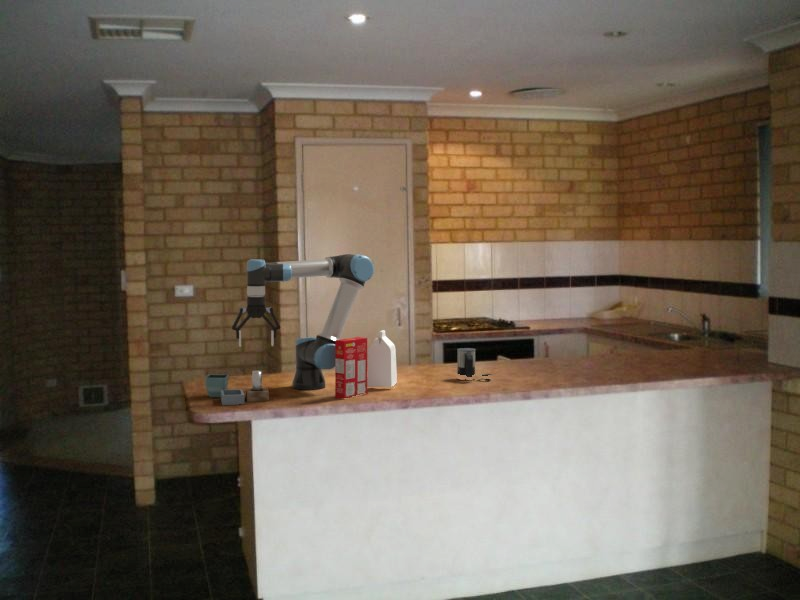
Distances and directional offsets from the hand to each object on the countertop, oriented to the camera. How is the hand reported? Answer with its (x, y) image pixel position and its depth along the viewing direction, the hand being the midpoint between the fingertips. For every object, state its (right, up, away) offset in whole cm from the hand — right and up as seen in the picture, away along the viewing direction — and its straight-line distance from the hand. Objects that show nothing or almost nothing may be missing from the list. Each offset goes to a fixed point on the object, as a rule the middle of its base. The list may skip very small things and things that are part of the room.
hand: (256, 346), depth 359 cm
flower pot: (-18, -22, +7) cm, 30 cm away
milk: (+53, -21, +32) cm, 65 cm away
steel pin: (0, -23, +2) cm, 23 cm away
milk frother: (+97, -19, +53) cm, 112 cm away
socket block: (0, -23, +2) cm, 23 cm away
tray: (-9, -23, -3) cm, 25 cm away
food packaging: (+40, -23, +10) cm, 47 cm away
